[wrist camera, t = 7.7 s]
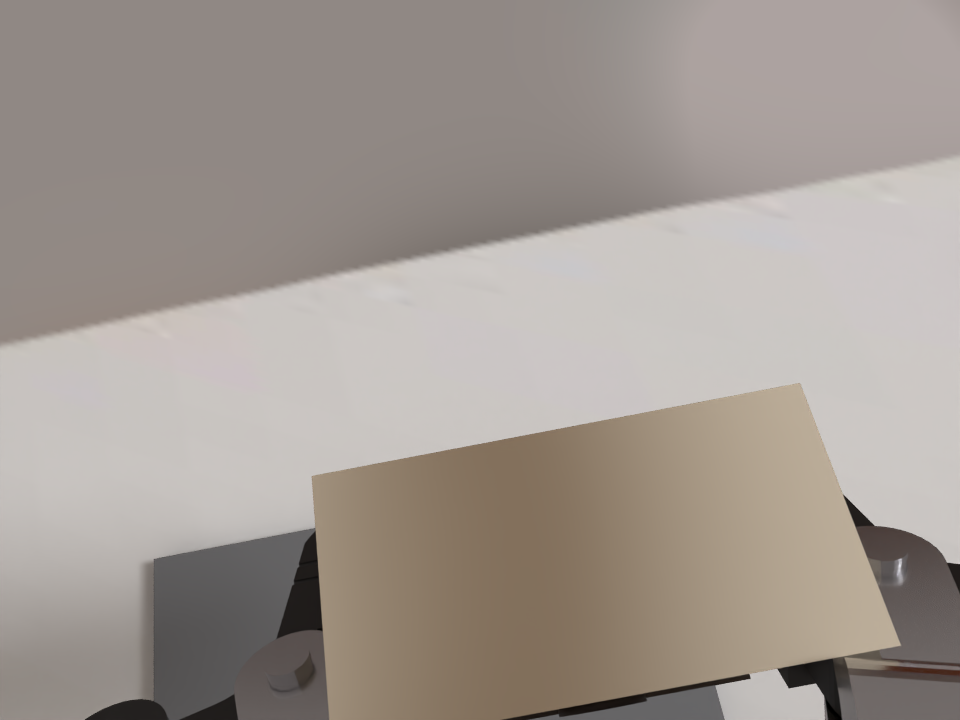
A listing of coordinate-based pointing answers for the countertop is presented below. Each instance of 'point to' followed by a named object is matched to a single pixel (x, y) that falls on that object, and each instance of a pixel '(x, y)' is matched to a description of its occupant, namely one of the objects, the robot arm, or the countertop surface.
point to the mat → (256, 621)
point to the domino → (591, 565)
